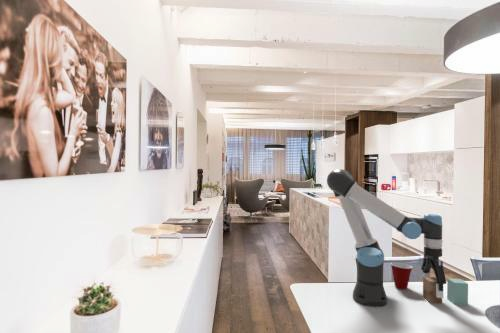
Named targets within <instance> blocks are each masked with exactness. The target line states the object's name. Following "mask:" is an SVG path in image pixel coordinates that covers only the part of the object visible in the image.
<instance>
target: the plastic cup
mask: <svg viewBox="0 0 500 333" xmlns="http://www.w3.org/2000/svg"><path fill="white" fill-rule="evenodd" d="M390 266H391V271H392V279H393V281H394V283H393V284H394V287H396V288H397V289H400V290H406V289H408V286H409V281H410V275H411V272H412V270H413V268H414V267H413V266H412V265H410V264H407V263H402V262H390Z"/></svg>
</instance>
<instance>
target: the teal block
mask: <svg viewBox="0 0 500 333" xmlns="http://www.w3.org/2000/svg"><path fill="white" fill-rule="evenodd" d="M446 284H447V288H446V289H447V292H446V298H447V300H448V301H449V302H450V303H451V302H452V303H451V304H453V305H456V306H457V305H458V306H468V305H469V283H468V282H466V281H465V280H463V279H461V278H449V277H447V279H446Z"/></svg>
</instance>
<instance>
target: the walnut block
mask: <svg viewBox="0 0 500 333" xmlns="http://www.w3.org/2000/svg"><path fill="white" fill-rule="evenodd" d="M422 282H423V283H422V298H423V297H424V298H423V299H424V300H425V299H426V300H427V301H428V302H429V304H430V303H432V304H443V298H437V297H436V282H437V280H436V276H435V277H434V276H433V277H431V276H430V277H423V276H422ZM426 300H425V301H426ZM427 301H426V302H427ZM428 302H427V303H428Z"/></svg>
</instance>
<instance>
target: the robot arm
mask: <svg viewBox="0 0 500 333" xmlns="http://www.w3.org/2000/svg"><path fill="white" fill-rule="evenodd" d="M357 182H358V181H356V180H354V177H353V174H351V173H350V172H349V171H348V170H346V169H334V170H332V171H330V172H329V174H328V175H327V178H326V183H327V184H326V185H327V187H328V188H329V189H330V190H331V191H332V192H333V194H334V196H335V198H336V199H338V200H339V201H340V204H341V207H342V210H343V213H344V214H345V218H346V220H347V222H348V224H349V227H350V229H351V233H352V235H353V237H354V240H355V243H356V244H355V245H354V247H355V248H354V249H355V252H356V262H357V263H356V282H355V286H354V288H353V291H352V299H353V300H354V301H355V302H357V303H359V304H362V305H366V306H369V307H383V306H386V305H387V303H388V298H387V293H386V291H385V288H384V262H385V254H384V251H383V250H382V248H381V247H380V244H379V242H378V239H375V238H374V237H373V235H372V233H371V230H370V228H369V226H368V223H367V220H366V218H365V215H364V213H363V210H362V208H361V207H363V209H365V210H367V211H368V212H370V213H371V214H373V215H374V216H376V217H377V218H379V219H381V220H382V221H383V222H385V223H387V224H388V225H389V226H391V227H392V228H394V229H395V230H396V231H397V232H399V233H401V234H403V236H404V237H405V238H407V239H410V240H416V239H418V238H419V237H421V235H423V246H424V247H423V260H422V263H421V264H422V265H421V269H420V270H421V271H422V272H423V275H422V278H423V277H431V270H433V273H434V276H435V278H436V280H437V282H436V297H437V298H442V299H443V298H444V285H446V284H447V279H446V274H445V271H444V262H443V261H442V260H440V259H439V258H441V257H442V256H443V248H442V247H443V242H444V241H443V217H442V216H441V215H439V214H434V213H433V214H431V213H428V214H427V213H425V214H423V217H408V216H407V215H405V214H404V213H401V212H400V211H399V210H397V209H396V208H394V207H393V206H391V205H389V204H388V203H387V202H385V201H383V200H382V199H380V198H378V197H377V196H375V195H374V194H372V193H370V192H369V191H368V190H366V189H365V188H363V187H362V186H360V185H358V183H357Z"/></svg>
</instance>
